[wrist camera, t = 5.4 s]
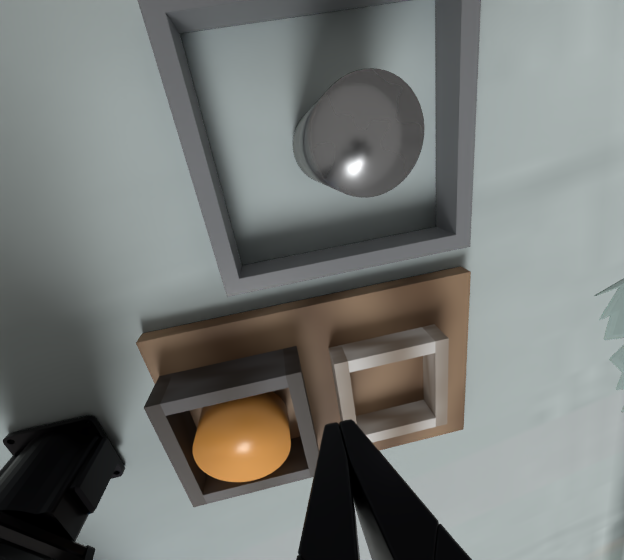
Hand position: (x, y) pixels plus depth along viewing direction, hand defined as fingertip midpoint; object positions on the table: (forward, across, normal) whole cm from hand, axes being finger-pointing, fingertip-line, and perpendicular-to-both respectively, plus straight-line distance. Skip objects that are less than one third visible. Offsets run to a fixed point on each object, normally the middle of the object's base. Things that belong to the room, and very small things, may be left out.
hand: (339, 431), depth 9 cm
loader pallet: (+14, 0, +10) cm, 17 cm away
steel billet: (+14, -3, -8) cm, 16 cm away
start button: (+11, +6, +11) cm, 17 cm away
